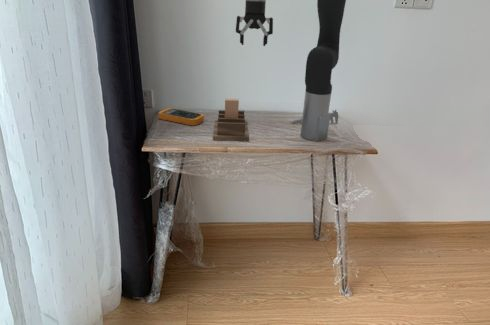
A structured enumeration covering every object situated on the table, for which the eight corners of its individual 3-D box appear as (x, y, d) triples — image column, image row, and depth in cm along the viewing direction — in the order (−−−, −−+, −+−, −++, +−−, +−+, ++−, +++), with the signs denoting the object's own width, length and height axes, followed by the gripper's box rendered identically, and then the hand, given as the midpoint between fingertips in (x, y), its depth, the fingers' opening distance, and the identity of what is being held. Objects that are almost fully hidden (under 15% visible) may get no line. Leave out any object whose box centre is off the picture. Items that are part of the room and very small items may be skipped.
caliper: (336, 123, 155) (338, 109, 152) (337, 124, 154) (339, 110, 151) (289, 123, 152) (291, 108, 149) (290, 124, 151) (292, 109, 148)
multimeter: (194, 127, 142) (194, 119, 140) (157, 119, 149) (157, 111, 147) (206, 122, 149) (206, 113, 148) (170, 114, 156) (170, 106, 154)
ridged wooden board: (215, 123, 147) (215, 108, 144) (247, 124, 148) (247, 109, 145) (212, 140, 130) (213, 124, 127) (249, 141, 130) (249, 125, 128)
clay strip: (224, 126, 139) (225, 98, 134) (237, 126, 139) (238, 98, 135) (224, 128, 137) (225, 100, 132) (237, 129, 137) (238, 100, 133)
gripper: (236, -1, 131) (235, 45, 138) (275, 1, 132) (272, 47, 139) (236, -1, 138) (235, 43, 145) (273, 0, 139) (270, 44, 146)
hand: (253, 45), depth 142 cm, fingers open, 8 cm apart
